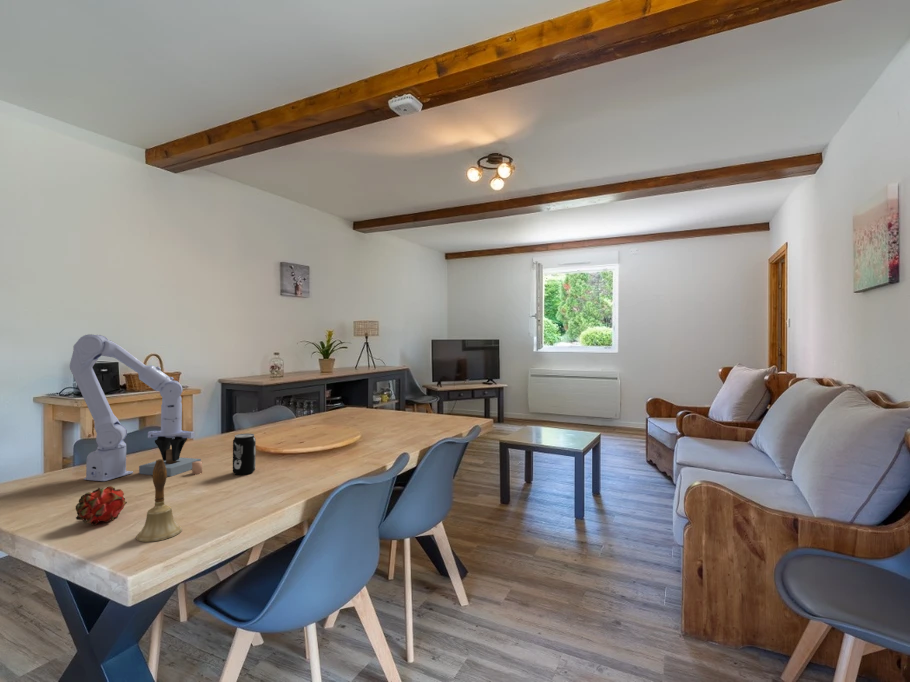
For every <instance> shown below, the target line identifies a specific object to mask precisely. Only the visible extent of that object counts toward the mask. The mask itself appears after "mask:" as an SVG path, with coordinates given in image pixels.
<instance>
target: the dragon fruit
mask: <svg viewBox="0 0 910 682" xmlns="http://www.w3.org/2000/svg"><path fill="white" fill-rule="evenodd" d="M124 496H125V493H124V491H123V489H121V488H118V489H116V488H115V487H114V486H112V485H108V486H106V487H105V488H102V487H98V488H97V489H95V490H92V492H91V491H89V492H85V494H82V495H81V496H80V498H79V499H78V503H77V504H76V505H75V511H76V514H77V516H75V519H76V520H78V521H82V522H83V524H89V525H92V526H95V525H97V524H99V522H105V523H107V522H109V523H110V522H112V521H114V519H117V518H118V517H119V515H120V513H121V511H122V510H124V507H125V506H126V504H128V502H127V501H126V499H125V497H124Z"/></svg>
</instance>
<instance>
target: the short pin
mask: <svg viewBox="0 0 910 682" xmlns="http://www.w3.org/2000/svg"><path fill="white" fill-rule="evenodd" d="M200 473H201V474H203V461H202V460H201V461H196V462H192V470H191V474H192V475H194V474H196V475H201V474H200Z"/></svg>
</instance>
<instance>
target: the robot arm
mask: <svg viewBox="0 0 910 682" xmlns="http://www.w3.org/2000/svg"><path fill="white" fill-rule="evenodd" d="M101 357H106V358H114V359H116V360H118V361H119V362H120V363H122V364H123V365H125V366H126V367H128V368H130V369H131V370H132V371H134V372H136V373H137V374H138V380H139V381H141V382H143V383H144V384H145V385H146V386H147V387H150V388H151V389H152V390H153V391H155V392H159V393H160V397H161V398H162V399H161V406H160V412H161V413H160V418H161V419H160V430H151V431H150V430H149V431H147V439H153V438H155V440H154V443H155V445H156V446H157V448H158V450H159V452H160V454H161V459H163V460H164V461H166V450H168V449H172V459H173V461H176V460H179V457H180V456H181V453H182V450H183V448H184V445H185V444H186V442H187V441H188V439H190V440H191V439H194V438H195V437H196V436H195V435H196V432H195V431H193V430H192V431H190V430H189V431H188V430H182V429H183V428H182V427H183V426H182V425H183V423H182V421H183V420H182V416H183V412H182V411H183V403H182V400H183V399H182V396H181V395H182V393H183V391H184V390H183V389H184V388H183V386H182V384H181V383H180V382H179V381H178V380H175V378H174V377H173V376H169V375H167V374H166V373H165V372H163V370H161V369H162V368H161V367H160V366H155V365H146V364H145V363H143V362H142V361H141V360H140V359H138V358H137V357H135V356H134V355H133V354H132V353H130V352H129V351H128V350H127V349H125V348H124V347H122V346H121V345H120V344H118V343H116V342H114V341H113V340H109V339H108V338H107V337H106V336H105V335H101V334H92V333H91V334H90V333H88V334H85V335H82V336H81V337H80V338H78V339H77V341H76V342H75V343H74V345H73V350H72V355H71V358H70V362H69V370H70V372H71V374H72V376H73V379H74V380H75V383H76V385H77V387H78V389H79V391H80V393H81V395H82V396H81V397H82V398H83V399H84V402H85V404H86V406H87V408H88V411H89V413H90V415H91V417H92V420H93V421H94V430H95V433H96V437H95V442H96V444H97V447H96V449H95V451H91V452H89V453H88V455H87V456H86V460H85V461H86V463H85V464H86V466H85V467H86V468H85V469H86V470H85V476H86V477H83V480H86V481H96V482H107V481H110V480H113V479H118V478H120V477H125V476H127V475H130V474H131V475H132V474H133V473H134V471H133V470H131V471H130V470H127V443H126V442H125V441H124V440H125V439H126V438H127V435H128V429H127V427H126V426H125V425H123V424H122V423H121V422H120V420H119V418H118V417H117V416H116V415H115V414H114V412H113V410H112V408H111V406H110V403H109V401H108V399H107V396H106V394H105V392H104V390H103V389H102V386H101V384H100V381H99V380H98V377H97V375H96V373H95V370H94V368H93V367H94V365H95V364H96V362H97V361H98V359H99V358H101ZM180 458H181V457H180Z"/></svg>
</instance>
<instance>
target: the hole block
mask: <svg viewBox="0 0 910 682" xmlns="http://www.w3.org/2000/svg"><path fill="white" fill-rule="evenodd" d="M196 461H202V459H201V458H192V457H179V460H176V463H174V464H166V461H164V464H165V466H166V470H167V477H173V476H177V475H180V474H183V473H185V472H186V473H187V472H189V471H192V470H191V469H192V462H196ZM155 464H156V460H155V461H152V462H148V463H145V464H141V465H139V466H138V469H139V470H138V474H139V475H149V476H153V469H154V466H155Z"/></svg>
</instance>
